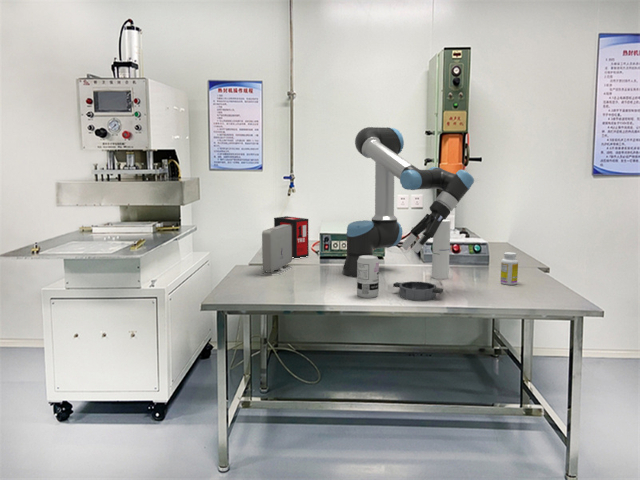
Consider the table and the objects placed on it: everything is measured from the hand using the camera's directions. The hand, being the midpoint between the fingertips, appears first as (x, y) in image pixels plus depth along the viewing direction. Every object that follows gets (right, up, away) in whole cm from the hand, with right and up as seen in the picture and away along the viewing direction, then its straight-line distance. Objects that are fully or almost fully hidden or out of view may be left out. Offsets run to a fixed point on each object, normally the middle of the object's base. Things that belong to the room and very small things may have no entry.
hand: (408, 249), depth 210 cm
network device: (-53, -11, +45) cm, 71 cm away
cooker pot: (+3, -18, -1) cm, 18 cm away
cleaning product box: (-49, -5, +81) cm, 94 cm away
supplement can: (-16, -18, 0) cm, 24 cm away
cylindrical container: (+19, -13, +31) cm, 38 cm away
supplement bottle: (+45, -15, +20) cm, 51 cm away
